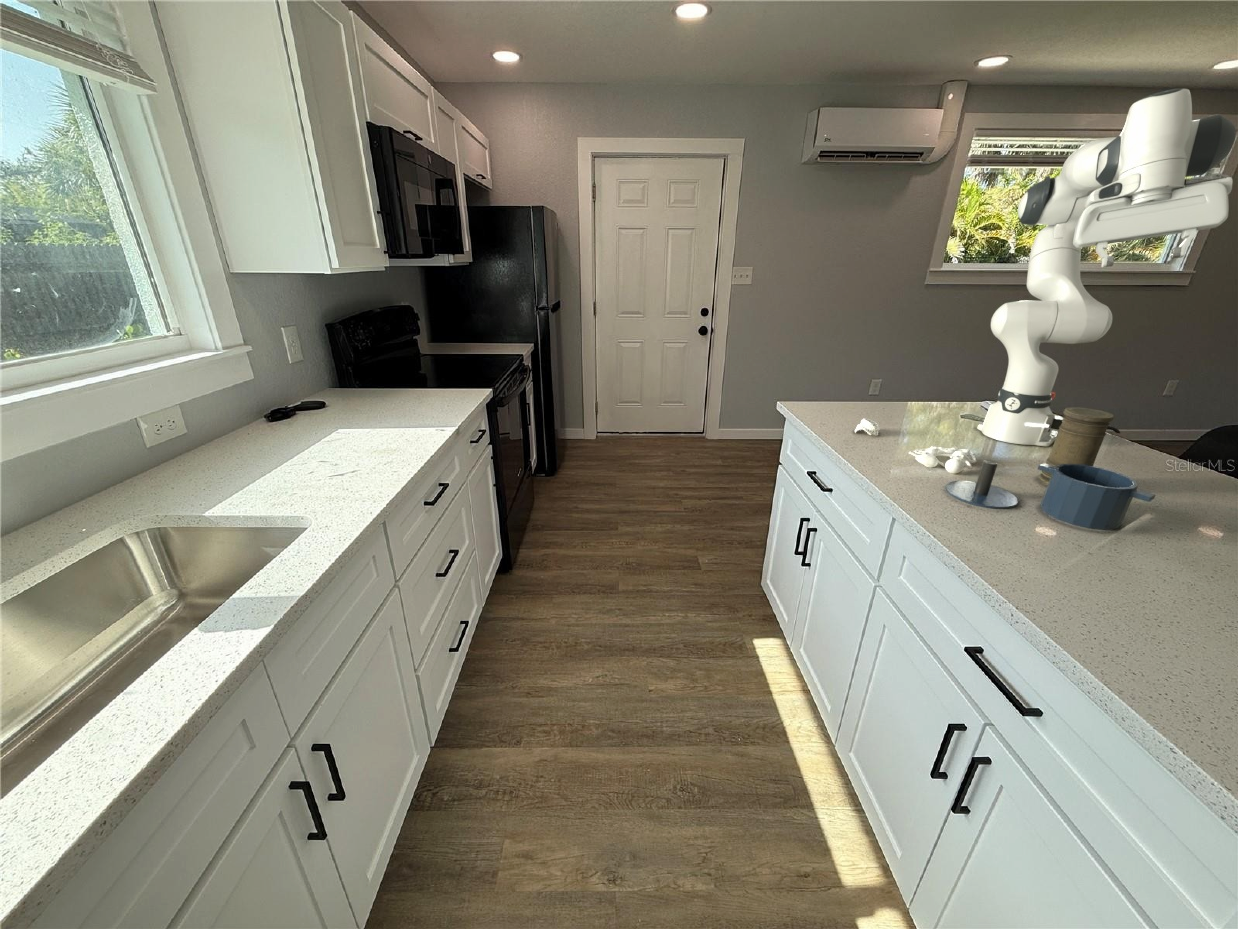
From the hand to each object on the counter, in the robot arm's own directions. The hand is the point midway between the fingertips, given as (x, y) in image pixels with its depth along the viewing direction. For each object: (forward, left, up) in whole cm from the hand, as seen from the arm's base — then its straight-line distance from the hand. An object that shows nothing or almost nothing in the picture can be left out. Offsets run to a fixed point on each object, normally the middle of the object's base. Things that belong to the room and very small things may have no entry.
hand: (1141, 262), depth 95 cm
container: (-5, -1, -49) cm, 50 cm away
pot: (+11, +8, -49) cm, 51 cm away
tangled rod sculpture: (+6, -23, -49) cm, 55 cm away
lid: (+19, -7, -49) cm, 52 cm away
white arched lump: (+2, -48, -49) cm, 69 cm away
